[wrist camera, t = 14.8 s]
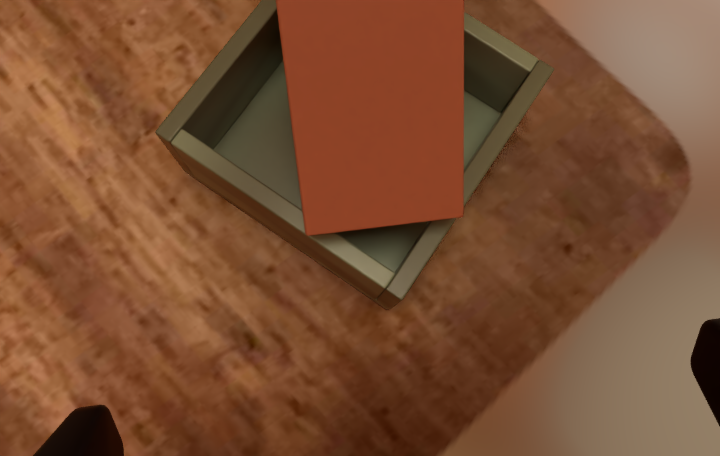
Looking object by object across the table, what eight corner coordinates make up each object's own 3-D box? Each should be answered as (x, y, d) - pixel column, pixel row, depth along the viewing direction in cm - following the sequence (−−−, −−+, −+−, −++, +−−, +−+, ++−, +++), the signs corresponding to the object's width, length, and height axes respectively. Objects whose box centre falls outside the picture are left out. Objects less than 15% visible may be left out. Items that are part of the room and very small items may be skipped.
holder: (517, 116, 24) (555, 68, 20) (388, 311, 22) (402, 300, 18) (324, -8, 25) (324, -79, 21) (184, 171, 23) (153, 131, 19)
